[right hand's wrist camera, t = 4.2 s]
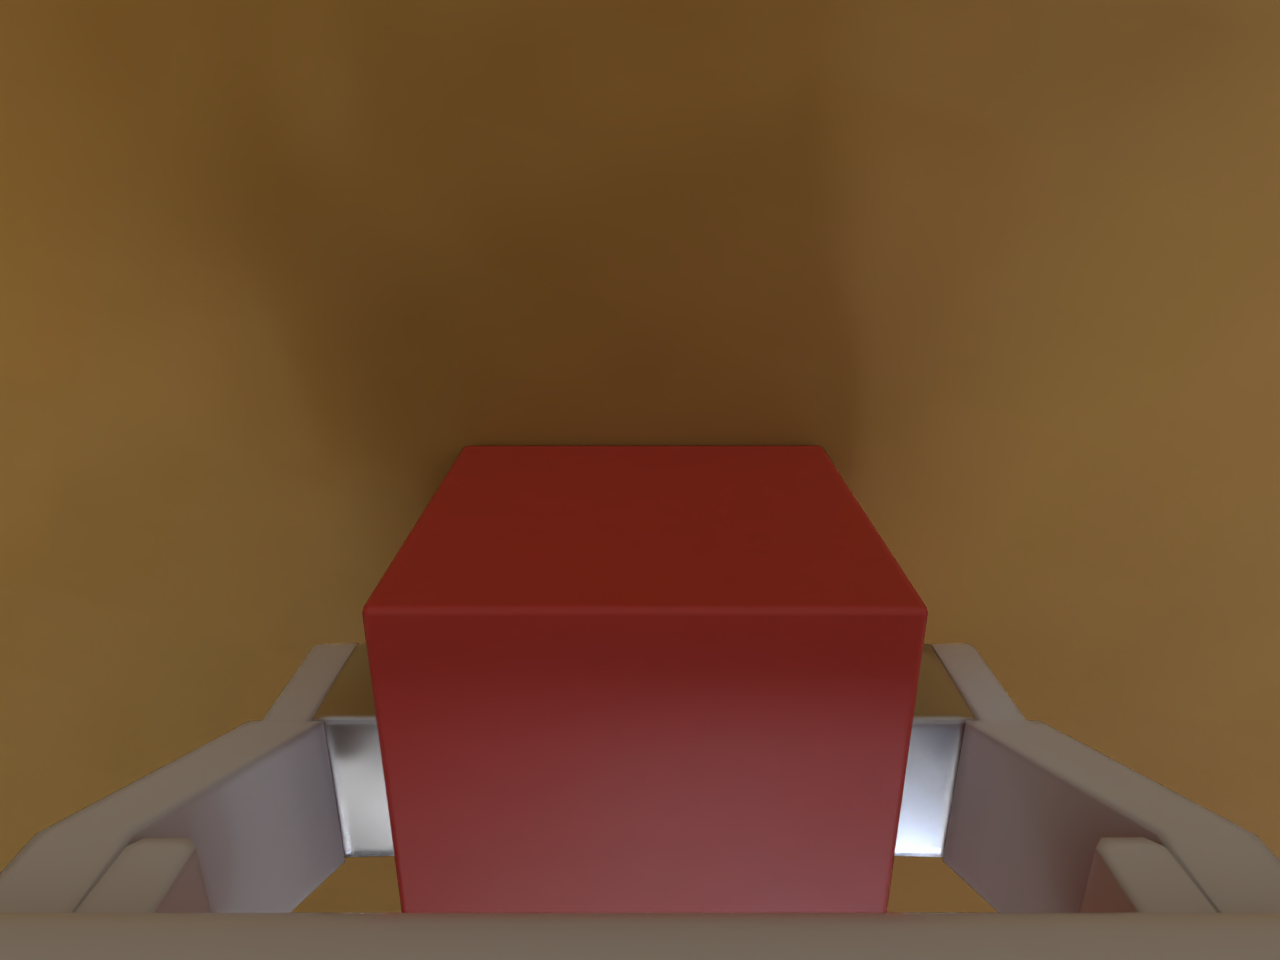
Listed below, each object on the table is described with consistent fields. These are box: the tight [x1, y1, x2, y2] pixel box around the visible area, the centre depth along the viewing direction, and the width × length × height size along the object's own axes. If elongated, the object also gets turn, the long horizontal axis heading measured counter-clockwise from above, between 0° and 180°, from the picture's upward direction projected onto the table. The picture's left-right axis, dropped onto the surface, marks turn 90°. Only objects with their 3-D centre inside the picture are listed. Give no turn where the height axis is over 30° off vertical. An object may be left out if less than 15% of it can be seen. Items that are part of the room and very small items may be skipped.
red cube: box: [362, 446, 928, 913], centre depth 10 cm, size 5×5×4 cm
